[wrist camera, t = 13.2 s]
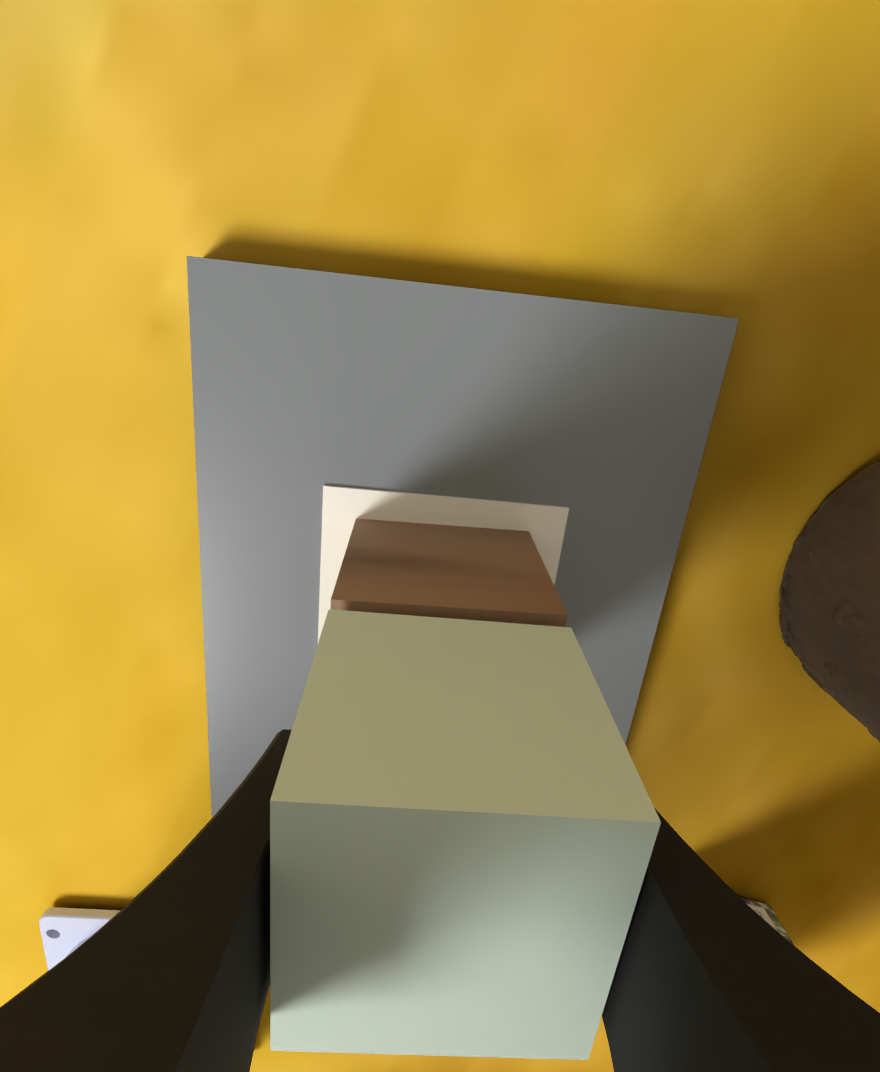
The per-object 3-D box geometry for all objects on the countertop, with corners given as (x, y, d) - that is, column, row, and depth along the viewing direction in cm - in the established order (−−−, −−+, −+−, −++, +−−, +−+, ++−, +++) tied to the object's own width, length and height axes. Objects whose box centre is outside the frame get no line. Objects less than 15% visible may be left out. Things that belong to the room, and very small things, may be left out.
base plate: (593, 816, 23) (601, 840, 22) (220, 794, 22) (210, 818, 21) (721, 317, 16) (741, 318, 15) (200, 258, 16) (185, 255, 14)
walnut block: (506, 676, 19) (533, 796, 14) (349, 667, 19) (325, 786, 14) (528, 531, 17) (567, 615, 13) (355, 518, 17) (330, 599, 12)
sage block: (533, 811, 14) (588, 1059, 10) (321, 799, 14) (270, 1050, 9) (571, 627, 12) (660, 822, 8) (328, 609, 12) (270, 800, 7)
